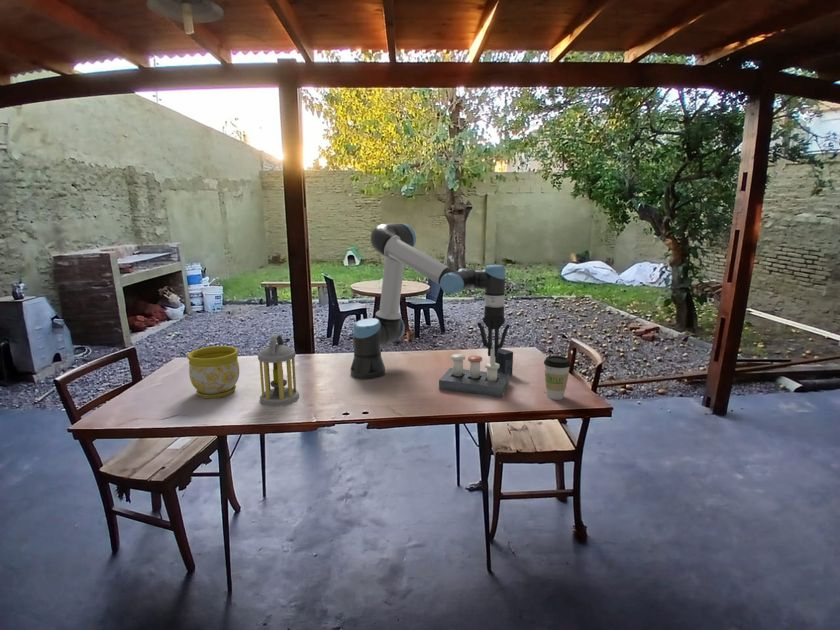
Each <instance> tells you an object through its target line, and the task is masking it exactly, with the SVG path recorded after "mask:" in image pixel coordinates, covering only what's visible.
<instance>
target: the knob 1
mask: <svg viewBox="0 0 840 630" xmlns="http://www.w3.org/2000/svg"><path fill="white" fill-rule="evenodd" d="M450 358H451V360H452V368H453V375H454V376H462V375H463V369H464V360H465V359H466V355H465V354H463V353H454V354H451V356H450Z"/></svg>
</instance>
